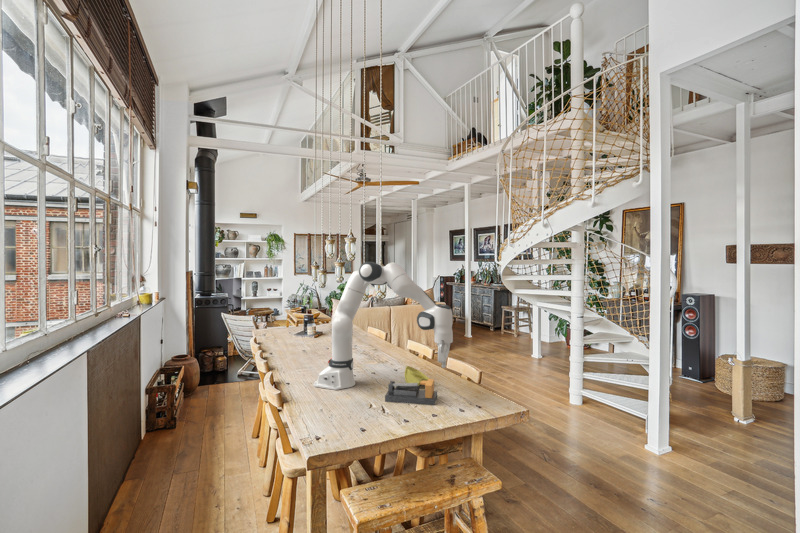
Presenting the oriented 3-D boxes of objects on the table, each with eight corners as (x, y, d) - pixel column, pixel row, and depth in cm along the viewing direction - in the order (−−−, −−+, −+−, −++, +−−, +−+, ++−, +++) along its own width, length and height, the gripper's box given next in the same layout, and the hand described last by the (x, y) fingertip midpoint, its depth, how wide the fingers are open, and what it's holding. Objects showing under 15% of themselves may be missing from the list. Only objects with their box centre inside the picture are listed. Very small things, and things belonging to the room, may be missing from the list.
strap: (389, 386, 193) (389, 384, 193) (391, 385, 195) (390, 382, 195) (417, 386, 190) (417, 384, 190) (418, 384, 193) (417, 382, 193)
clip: (418, 397, 186) (418, 384, 186) (422, 390, 196) (422, 378, 196) (431, 398, 185) (431, 385, 185) (434, 391, 195) (434, 379, 195)
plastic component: (435, 382, 210) (420, 376, 206) (429, 395, 210) (414, 390, 206) (418, 370, 229) (404, 364, 224) (413, 381, 228) (399, 376, 224)
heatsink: (385, 401, 189) (384, 386, 189) (390, 393, 200) (390, 379, 200) (434, 405, 184) (434, 389, 184) (437, 397, 195) (437, 382, 195)
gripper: (448, 343, 178) (448, 373, 178) (451, 334, 198) (452, 361, 198) (434, 342, 179) (434, 373, 179) (439, 334, 199) (439, 361, 199)
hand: (443, 367), depth 189 cm, fingers closed
